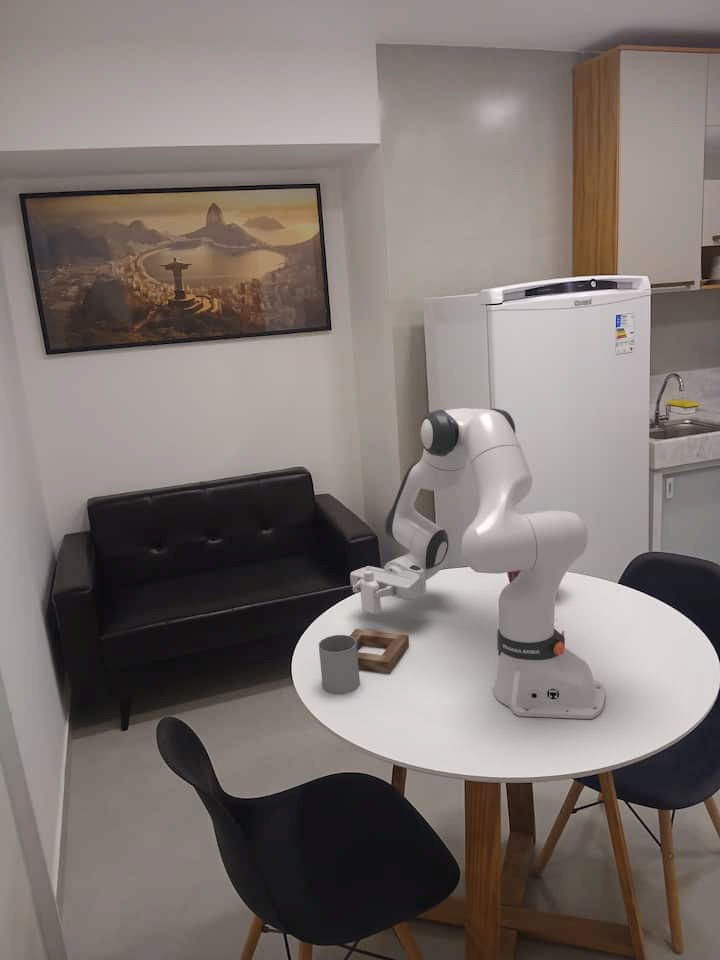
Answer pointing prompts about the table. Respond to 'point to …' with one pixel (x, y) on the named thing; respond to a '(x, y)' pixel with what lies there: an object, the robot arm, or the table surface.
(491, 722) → the table surface
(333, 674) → the cup
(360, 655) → the socket block
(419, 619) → the table surface
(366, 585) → the eye dropper bottle
